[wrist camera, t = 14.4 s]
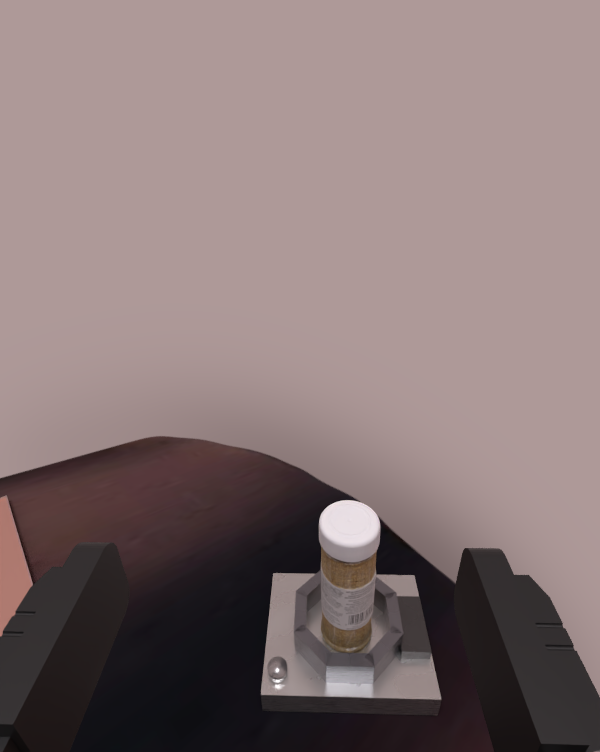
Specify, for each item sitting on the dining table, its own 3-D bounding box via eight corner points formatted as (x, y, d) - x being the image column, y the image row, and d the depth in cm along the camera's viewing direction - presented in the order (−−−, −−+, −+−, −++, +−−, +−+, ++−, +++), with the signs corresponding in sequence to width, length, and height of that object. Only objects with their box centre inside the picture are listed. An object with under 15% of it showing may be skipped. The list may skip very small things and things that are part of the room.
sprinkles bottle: (361, 600, 42) (368, 493, 35) (379, 648, 38) (390, 537, 31) (314, 611, 41) (312, 503, 34) (327, 662, 37) (328, 550, 30)
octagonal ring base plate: (262, 710, 36) (258, 677, 34) (274, 588, 46) (272, 556, 43) (437, 715, 35) (445, 682, 33) (412, 591, 45) (416, 558, 43)
